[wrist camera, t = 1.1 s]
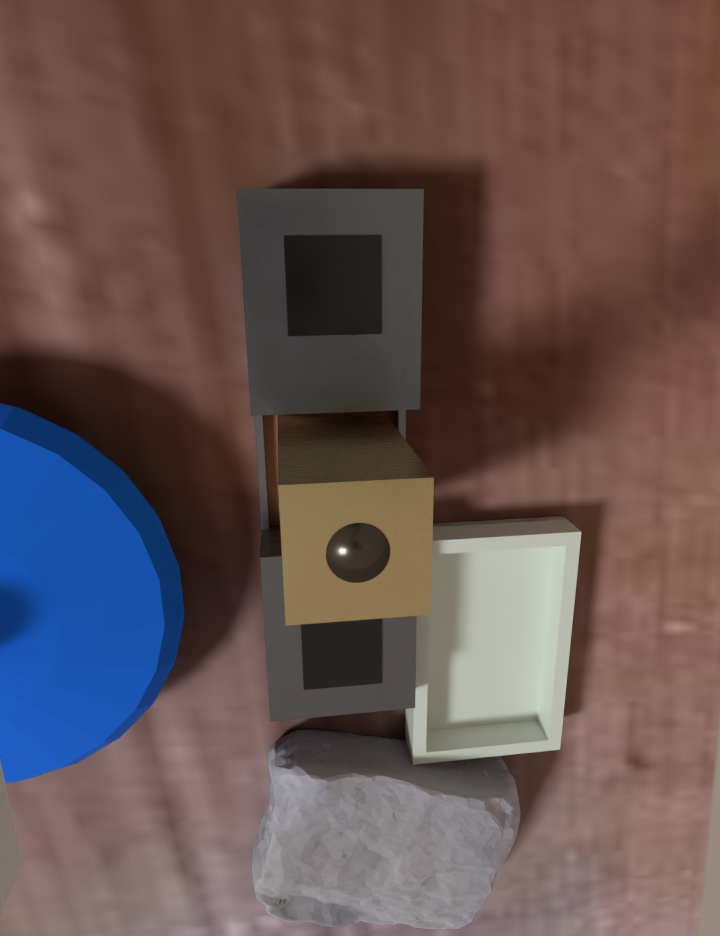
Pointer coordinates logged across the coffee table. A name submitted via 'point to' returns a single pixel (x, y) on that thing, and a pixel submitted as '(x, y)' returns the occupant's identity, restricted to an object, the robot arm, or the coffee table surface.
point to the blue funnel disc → (76, 598)
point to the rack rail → (331, 402)
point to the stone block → (380, 832)
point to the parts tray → (494, 640)
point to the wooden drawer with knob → (352, 519)
